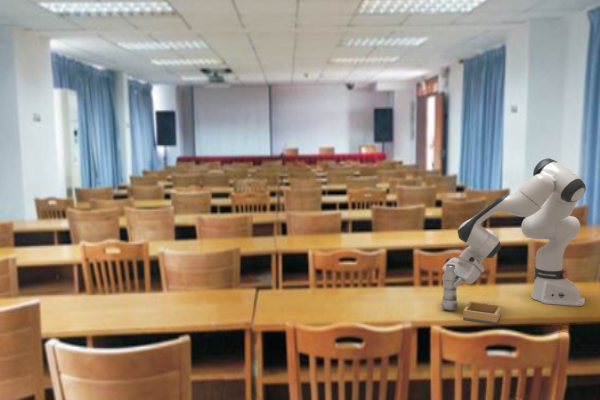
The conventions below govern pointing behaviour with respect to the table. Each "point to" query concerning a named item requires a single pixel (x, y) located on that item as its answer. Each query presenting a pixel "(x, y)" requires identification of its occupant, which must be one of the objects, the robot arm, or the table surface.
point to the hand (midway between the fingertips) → (448, 284)
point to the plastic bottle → (449, 288)
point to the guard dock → (482, 312)
